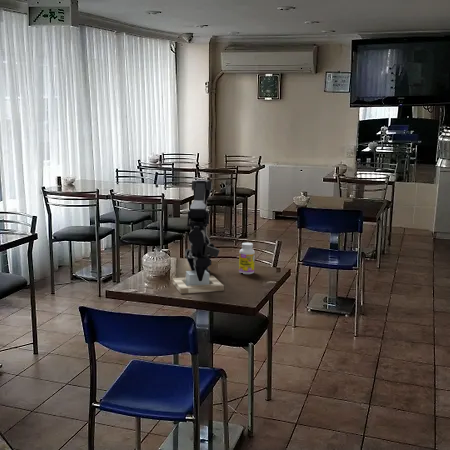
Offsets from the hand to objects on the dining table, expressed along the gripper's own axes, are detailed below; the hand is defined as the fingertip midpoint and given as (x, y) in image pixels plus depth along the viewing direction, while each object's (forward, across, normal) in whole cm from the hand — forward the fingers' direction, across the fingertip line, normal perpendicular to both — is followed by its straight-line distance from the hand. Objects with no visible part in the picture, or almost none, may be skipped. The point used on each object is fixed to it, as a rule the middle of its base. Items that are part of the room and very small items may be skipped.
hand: (197, 278), depth 239 cm
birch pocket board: (+4, 0, 0) cm, 4 cm away
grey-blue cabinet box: (+4, 0, 0) cm, 4 cm away
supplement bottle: (+4, +16, -26) cm, 31 cm away
